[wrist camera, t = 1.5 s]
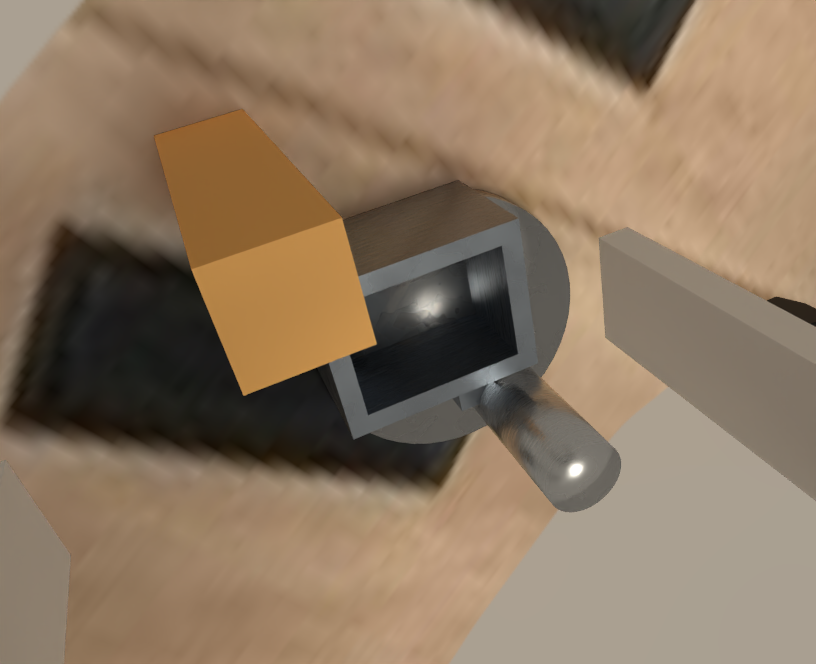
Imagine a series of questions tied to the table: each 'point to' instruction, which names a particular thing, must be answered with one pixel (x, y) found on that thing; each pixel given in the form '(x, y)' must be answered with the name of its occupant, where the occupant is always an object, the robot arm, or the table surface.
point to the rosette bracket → (468, 337)
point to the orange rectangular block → (263, 251)
